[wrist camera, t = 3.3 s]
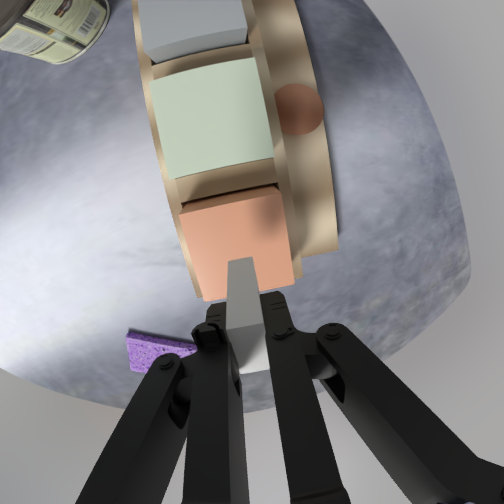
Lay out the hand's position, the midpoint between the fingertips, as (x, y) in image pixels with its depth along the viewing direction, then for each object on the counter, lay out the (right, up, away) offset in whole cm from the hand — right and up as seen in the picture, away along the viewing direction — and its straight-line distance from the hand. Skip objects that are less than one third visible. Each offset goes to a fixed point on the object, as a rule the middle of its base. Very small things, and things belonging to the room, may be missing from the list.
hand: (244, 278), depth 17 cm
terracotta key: (-1, +4, +8) cm, 9 cm away
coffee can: (-21, +28, +1) cm, 35 cm away
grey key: (-5, +22, 0) cm, 22 cm away
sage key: (-3, +13, +4) cm, 14 cm away
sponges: (-11, -13, +19) cm, 26 cm away
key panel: (0, +15, +8) cm, 17 cm away
